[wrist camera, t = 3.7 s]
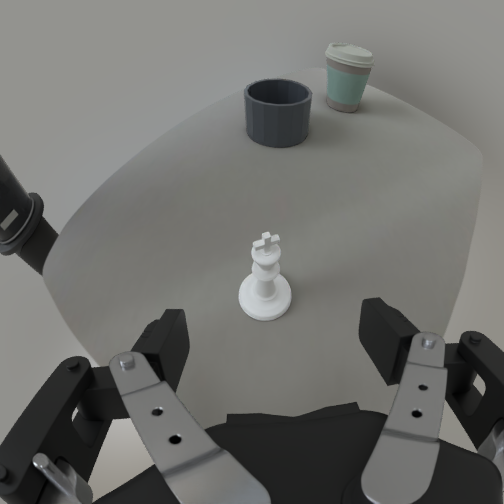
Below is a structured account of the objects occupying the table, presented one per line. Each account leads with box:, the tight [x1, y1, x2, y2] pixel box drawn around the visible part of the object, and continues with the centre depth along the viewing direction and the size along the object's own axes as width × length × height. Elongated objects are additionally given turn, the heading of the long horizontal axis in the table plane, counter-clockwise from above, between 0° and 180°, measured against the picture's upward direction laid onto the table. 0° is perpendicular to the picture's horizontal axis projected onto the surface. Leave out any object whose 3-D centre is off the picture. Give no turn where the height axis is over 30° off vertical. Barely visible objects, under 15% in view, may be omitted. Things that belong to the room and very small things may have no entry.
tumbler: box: [244, 79, 312, 147], centre depth 36 cm, size 9×9×7 cm
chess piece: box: [239, 232, 291, 321], centre depth 21 cm, size 5×5×10 cm
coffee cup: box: [325, 43, 374, 112], centre depth 39 cm, size 8×8×12 cm
